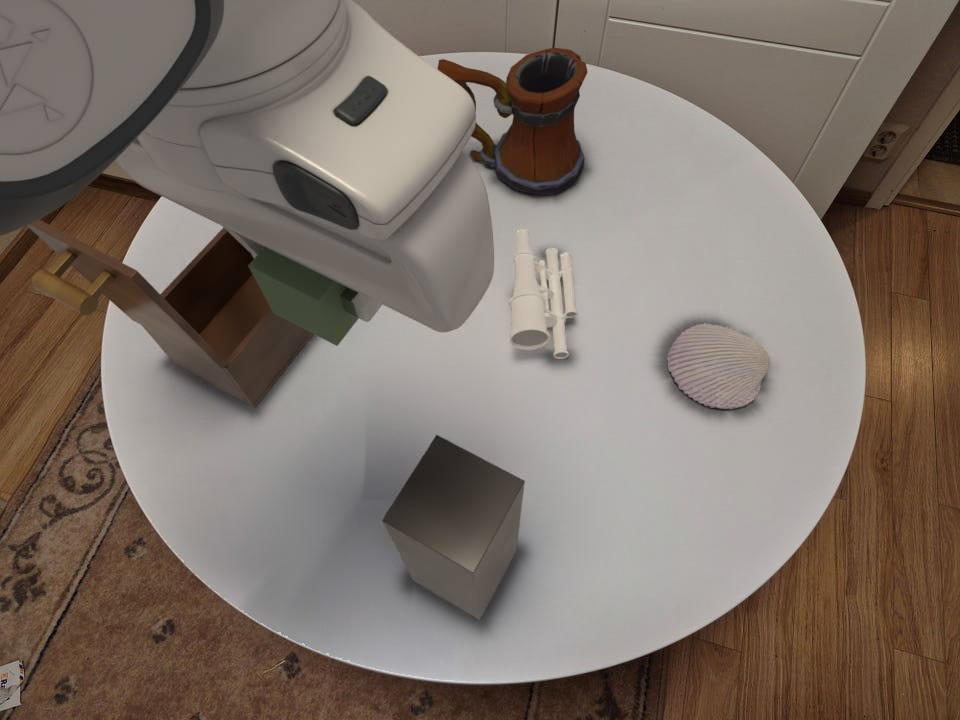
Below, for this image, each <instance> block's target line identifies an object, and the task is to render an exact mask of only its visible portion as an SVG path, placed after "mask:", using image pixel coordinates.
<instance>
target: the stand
mask: <svg viewBox="0 0 960 720" xmlns="http://www.w3.org/2000/svg"><path fill="white" fill-rule="evenodd" d="M525 483H526V482H525V479H522V478H520V477H519V476H516V475H514V474H512V473H511V472H509V471H507V470H505V469H503V468H501V467H499V466H497V465H495V464H494V463H492V462H490V461H488V460H486V459H484V458H483V457H480V456H478V455H476V454H474V453H472V452H471V451H469V450H467V449H465V448H463V447H461V446H459V445H458V444H456V443H453V442H452V441H449V440H448V439H446V438H444V437H442V436H440V435H438V434H435V436H434V437H433V440H432V441H431V443H430V444H429V446H428V447H427V449H426V451H425V452H424V453H423V455H422V456H421V458H420V460H419V462H418V463H417V465H416V466H415V467H414V469H413V471H412V472H411V474H410V476H409V477H408V479H407V480H406V481H405V484H404V485H403V486H402V488H401V489H400V491H399V493H398V494H397V496H396V498H395V499H394V501H393V503H392V504H391V505H390V507H389V508H388V510H387V511H386V513H385V514H384V517H382V519H381V521H382V523H383V524H384V527H385V529H386V531H387V533H388V535H389V537H390V539H391V541H392V543H393V544H394V546H395V548H396V550H397V552H398V554H399V556H400V558H401V561H402V562H403V564H404V565H405V567H406V569H407V571H408V573H409V575H410V577H411V579H412V581H413V582H414V583H415V584H417V585H419V586H420V587H422V588H423V589H426V590H427V591H429V592H430V593H433V594H434V595H435V596H437V597H438V598H440V599H443V600H444V601H446V602H448V603H449V604H451V605H453V606H454V607H456V608H457V609H459V610H461V611H463V612H464V613H465V614H468V615H469V616H471V617H473V618H475V619H476V620H478V621H481V619H482V617H483V615H484V614H485V612H486V609H487V608H488V606H489V604H490V602H491V600H492V599H493V596H494V595H495V593H496V591H497V589H498V588H499V586H500V583H501V581H502V580H503V578H504V577H505V574H506V572H507V571H508V568H509V566H510V565H511V562H512V560H513V559H514V557H515V555H516V552H517V549H518V540H519V531H520V523H521V514H522V507H523V498H524V492H525V491H524V490H525Z"/></svg>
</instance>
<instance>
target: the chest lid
mask: <svg viewBox="0 0 960 720" xmlns="http://www.w3.org/2000/svg"><path fill="white" fill-rule="evenodd" d="M26 227H27V228H28V229H29V230H31V231H32V232H33V233H34V234H35V235H36V236H38V237H39V238H40V239H41V240H42V241H43V242H44V243H45V244H46V245H48V246H49V247H50V248H51V249H52V250H53V251H54V252H55V253H56V254H58V256H59V257H58V258H57V259H56V260H55V262H54V263H53V264H52V265H51V266H49V268H48V269H40V270H38V271H37V272H36V273H34V275H33V276H32V279H31V285H32V286H33V288H34V289H36V290H37V291H39V292H41V293H42V294H43V293H44V294H45V295H47V296H48V297H50V298H52V299H54V300H55V301H57V302H59V303H61V304H63V305H65V306H66V307H67V308H70V309H71V310H74V311H75V312H77V313H79V314H81V315H83V316H90V315H92V314H94V313H95V312H96V311H97V309H98V307H99V299H100V297H101V296H102V295H103V296H104V297H106V298H107V299H108V300H109V301H110V302H111V303H112V304H113V305H115V306H116V307H117V308H118V309H119V310H120V311H121V312H122V313H123V314H125V315H126V316H127V317H128V318H129V319H130V320H131V321H133V322H135V323H136V324H139V325H141V327H143V326H144V327H146V328H148V329H149V330H151V331H153V332H155V333H157V334H159V335H160V336H162V337H164V338H166V339H168V340H170V341H171V342H173V343H175V344H177V345H179V346H180V347H182V348H184V349H186V350H188V351H190V352H191V353H193V354H195V355H197V356H199V357H201V358H202V359H204V360H206V361H208V362H210V363H212V364H213V365H215V366H217V367H219V368H221V369H224V367H225V366H226V365H227V363H226V362H225V361H224V360H223V359H222V358H221V357H220V356H219V355H218V354H217V353H216V352H215V351H214V350H213V349H212V347H211V346H210V345H209V344H208V343H207V342H206V341H205V340H204V339H203V338H202V337H201V336H200V335H199V334H198V333H197V332H196V331H195V330H194V329H193V328H192V327H191V326H190V325H189V324H188V323H187V322H186V321H185V320H184V319H183V318H182V316H181V315H180V314H179V313H178V312H177V311H176V310H175V309H174V308H173V307H172V306H171V305H170V304H169V303H168V302H167V301H166V300H165V299H164V298H163V297H162V296H161V295H160V294H161V293H159V292H158V290H157V289H156V288H155V287H154V286H153V285H152V284H151V283H150V282H149V281H148V280H147V279H146V278H145V277H144V276H143V275H142V274H141V273H140V272H139V271H138V270H137V269H135V268H133V267H131V266H130V265H127V264H125V263H123V262H121V261H119V260H117V258H114V257H112V256H110V255H108V254H106V253H104V252H102V251H100V250H99V249H96V248H94V247H92V246H90V245H89V244H87V243H85V242H83V241H81V240H79V239H78V238H75V237H73V236H72V235H70V234H68V233H65V231H62V230H60V229H59V228H56V227H54V226H52V225H51V224H48V222H45V221H43V220H41V219H39V220H37V221H35V222H33V223H31V224H29V225H27V226H26ZM70 267H71V268H73V269H74V270H76V272H77V273H79V274H80V275H81V277H83V278H84V279H85V280H87V282H89V283H90V285H89V287H88V288H87V289H86V290H85V289H84V288H83V289H82V288H81V287H79V286H77V285H75V284H74V283H72V282H70V281H68V280H66V279H64V278H62V276H63V275H64V273H66V272H67V270H68V269H69V268H70Z"/></svg>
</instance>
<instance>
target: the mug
mask: <svg viewBox="0 0 960 720" xmlns="http://www.w3.org/2000/svg"><path fill="white" fill-rule="evenodd" d="M436 69H437V70H439V71H440V72H442V73H443V74H445V75H446V76H448V77H449V78H451V79H452V80H453V81H455V82H456V83H458V84H459V85H460V86H461V87H462V88H464V89H465V90H466V91H467V92H468V94H469V95H470V96H471V98H472V100H473V102H474V105H475V110H476V111H477V100H476V98H475V94H474V92H473V91H472V89H471V88H470V86H469V85H468V84H467V83H469V84H470V83H471V84H475V85H480V86H484V87H487V88H490V89H492V90H493V91H494V92H495V96H493V105H494V108H495V109H496V111H497V114H498V116H499V117H501V118H503V119H508V118H509V117H510V116H513V117H512V123H511V124H510V126H509V127H508V130H507V131H506V132H504V133H502V134H501V137H500V139H499V140H498V142H497V144H495V141H494V140H493V139H492V137H491V135H490V134H489V133H488V132H487V131H485V130H484V129H483V127H481V126H480V125H479V124H478V123H477V122H476V125H475V129H474V131H473V133H472V135H471V137H470V138H473V139H475V140H476V141H478V143H480V144H481V146H482V148H481V150H480V151H478V150H475V149H472V150H471V151H470V152H469V155H470V156H471V158H472V159H473V160H474V161H475V162H479V163H488V164H491V165H494V167H495V171H496V175H497V178H498V179H499V180H501V181H502V182H503V183H505V184H506V185H508V186H509V187H511V189H514V190H515V191H519V192H523V193H529V194H534V195H557V194H559V193H560V192H562V191H564V190H565V189H566V188H568V187H569V186H572V184H574V183H575V182H576V180H577V178H578V176H579V175H580V173H581V171H582V169H583V168H584V165H585V155H584V152H583V149H582V146H581V143H580V141H579V140H577V136H576V132H575V108H576V106H577V103H578V101H579V100H580V97H581V94H580V89H581V87H582V86H583V83H584V82H585V78H586V77H587V75H588V67H587V63H586V62H584V61H582V58H581V55H580V54H578V53H576V52H575V51H573V50H572V49H567V48H560V47H550V48H547V49H546V48H545V49H542V50H538V51H535V52H532V53H529V54H526V55H524V56H523V57H521V59H520V60H518V61H516V63H514V64H513V65H512V66H511V67H510V69H509V71H508V73H507V75H506V78H505V79H506V80H505V81H504V80H503V79H502V78H500V77H498V76H497V75H495V74H492V73H490V72H487V71H484V70H481V69H475V68H470V67H465V66H464V65H461V64H458V63H456V62H454V61H451V60H447V59H444V58H442V59H441V58H440V59H439V60H438V64H437V68H436Z"/></svg>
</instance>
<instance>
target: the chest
mask: <svg viewBox="0 0 960 720" xmlns="http://www.w3.org/2000/svg"><path fill="white" fill-rule="evenodd" d="M253 260H254V258H253V256H252V254H251V252H249V251H248V250H247V249H246V248H245V247H244V246H243V245H242V244H241V243H239V242H238V241H237V240H236V239H235V238H234V237H233V236H232V235H231V234H230V233H229V232H228V231H227V230H226V229H225V228H224V227H223V226H222V228H221V229H220V230H219V231H218V232H217V234H216V235H215V236H214V237H213V238H212V239H211V240H210V241H209V242H208V243H207V244H206V245H205V246H204V247H203V248H202V250H201V251H199V253H197V254H196V256H195V257H193V259H192V260H191V261H190V262H189V263H188V265H186V266H185V268H184V269H182V270H181V272H180V273H179V274H178V275H177V276H176V277H174V279H173V280H172V281H171V282H170V283H169V285H167V286H166V288H165V289H164V290H163V291H162V292H161V293H159V294H160V295H161V296H162V297H163V298H164V299H165V300H166V301H167V302H168V303H169V304H170V305H171V306H172V307H173V308H174V309H175V310H176V311H177V312H178V313H179V314H180V315H181V316H182V318H183V319H184V320H185V321H186V322H187V323H188V324H189V325H190V326H191V327H192V328H193V329H194V330H195V331H196V332H197V333H198V334H199V335H200V336H201V337H202V338H203V339H204V340H205V341H206V342H207V343H208V344H209V345H210V346H211V347H212V349H213V350H214V351H215V352H216V353H217V354H218V355H219V356H220V357H221V358H222V359H223V360H224V361H225V362H226V363H227V365H226V366H225V367H224V369H221V368H219V367H217V366H215V365H213V364H212V363H210V362H208V361H206V360H204V359H202V358H201V357H199V356H197V355H195V354H193V353H191V352H190V351H188V350H186V349H184V348H182V347H180V346H179V345H177V344H175V343H173V342H171V341H170V340H168V339H166V338H164V337H162V336H160V335H159V334H157V333H155V332H153V331H151V330H149V329H148V328H146V327H144V326H142V328H143V329H144V330H145V331H146V332H147V333H148V335H149V336H150V337H151V338H152V339H153V341H154V342H155V343H156V344H157V346H159V348H160V349H161V350H162V351H163V353H165V355H166V356H167V357H168V358H169V359H170V361H171V362H172V363H174V364H175V365H177V366H179V367H181V368H183V369H184V370H186V371H188V372H190V373H191V374H193V375H195V376H196V377H198V378H200V379H202V380H204V381H206V382H207V383H210V384H211V385H213V386H215V387H217V388H219V390H222V391H224V392H226V393H227V394H229V395H231V396H232V397H234V398H236V399H238V400H240V401H242V402H243V403H245V404H247V405H249V406H251V407H252V408H254V409H255V408H257V407H258V405H259V404H260V403H261V401H262V400H264V398H265V397H266V395H267V394H268V393H269V392H270V391H271V389H272V388H273V386H274V385H275V384H276V382H277V381H278V380H279V379H280V377H281V376H283V374H284V372H285V371H286V370H287V369H288V367H290V365H291V363H293V361H294V360H295V359H296V358H297V356H298V355H299V354H300V352H301V351H302V350H303V348H304V347H305V346H306V345H307V344H308V342H309V341H310V340H311V339H312V337H313V336H314V334H313V333H311V332H309V331H307V330H305V329H303V328H301V327H299V326H297V325H295V324H294V323H292V322H290V321H288V320H286V319H284V318H282V317H280V316H278V315H276V314H274V313H273V311H272V310H271V308H270V306H269V304H268V302H267V300H266V298H265V296H264V295H263V293H262V291H261V289H260V287H259V285H258V283H257V281H256V280H255V278H254V276H253V274H252V272H251V270H250V268H249V266H248V265H249V264H250V263H251V262H252V261H253Z"/></svg>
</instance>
